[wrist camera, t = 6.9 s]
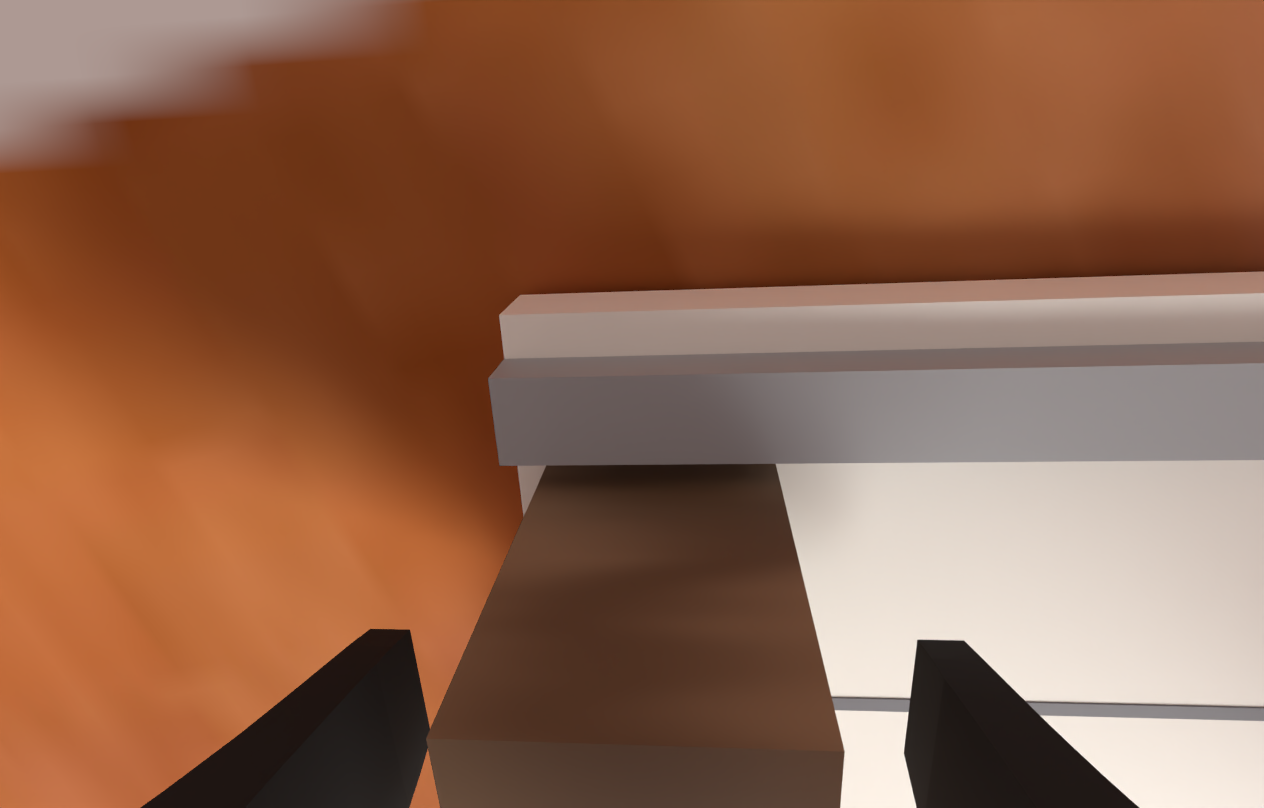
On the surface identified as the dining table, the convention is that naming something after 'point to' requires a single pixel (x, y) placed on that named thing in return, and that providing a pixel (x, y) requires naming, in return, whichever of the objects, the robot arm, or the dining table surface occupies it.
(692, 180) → the dining table surface
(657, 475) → the block
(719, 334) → the board
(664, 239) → the dining table surface
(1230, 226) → the dining table surface
